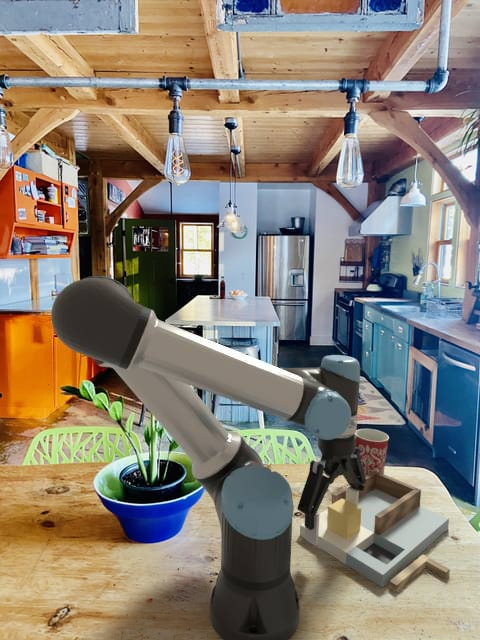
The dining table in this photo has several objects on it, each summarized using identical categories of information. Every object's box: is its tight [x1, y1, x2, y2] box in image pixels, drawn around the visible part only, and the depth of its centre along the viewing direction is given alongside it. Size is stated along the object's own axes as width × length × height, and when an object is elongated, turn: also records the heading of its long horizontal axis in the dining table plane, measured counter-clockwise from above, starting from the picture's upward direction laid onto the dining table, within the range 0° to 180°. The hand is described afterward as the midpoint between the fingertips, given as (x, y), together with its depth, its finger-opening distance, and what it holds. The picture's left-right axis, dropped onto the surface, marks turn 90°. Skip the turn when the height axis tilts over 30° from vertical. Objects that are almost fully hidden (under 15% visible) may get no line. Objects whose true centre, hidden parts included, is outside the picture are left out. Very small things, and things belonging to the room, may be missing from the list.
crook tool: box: [388, 554, 451, 593], centre depth 80 cm, size 12×5×1 cm, turn 129°
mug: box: [355, 428, 390, 476], centre depth 118 cm, size 13×9×14 cm
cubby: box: [331, 471, 422, 535], centre depth 100 cm, size 18×12×4 cm
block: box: [327, 499, 361, 539], centre depth 92 cm, size 5×5×5 cm
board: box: [299, 489, 450, 588], centre depth 95 cm, size 28×20×2 cm
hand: (332, 528), depth 89 cm, fingers open, 13 cm apart
